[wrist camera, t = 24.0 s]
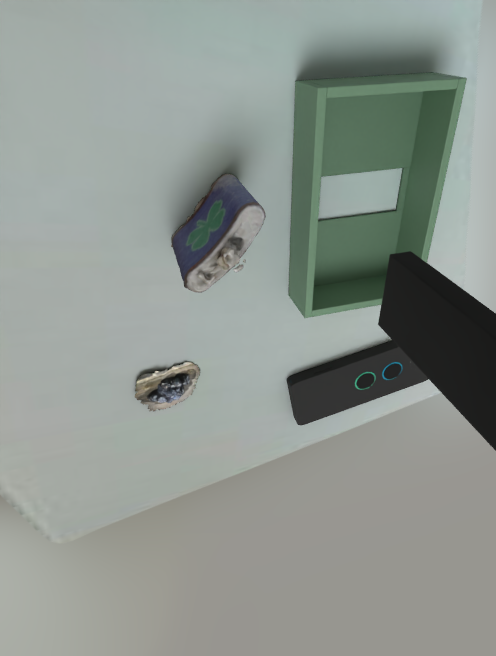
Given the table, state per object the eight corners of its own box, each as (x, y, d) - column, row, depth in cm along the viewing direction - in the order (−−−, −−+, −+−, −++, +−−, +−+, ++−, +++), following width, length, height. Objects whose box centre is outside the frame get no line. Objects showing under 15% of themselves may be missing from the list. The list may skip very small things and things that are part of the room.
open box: (295, 80, 40) (317, 87, 36) (432, 72, 43) (467, 78, 39) (288, 295, 52) (304, 318, 48) (395, 277, 55) (419, 298, 51)
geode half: (122, 383, 53) (123, 394, 51) (180, 346, 52) (183, 356, 51) (157, 415, 57) (159, 426, 55) (211, 381, 56) (215, 391, 55)
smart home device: (431, 380, 65) (298, 428, 63) (424, 372, 66) (294, 419, 64) (434, 334, 60) (290, 385, 58) (426, 327, 61) (285, 376, 59)
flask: (224, 167, 43) (258, 205, 34) (247, 186, 44) (285, 228, 36) (164, 243, 45) (181, 297, 36) (187, 259, 47) (209, 314, 38)
